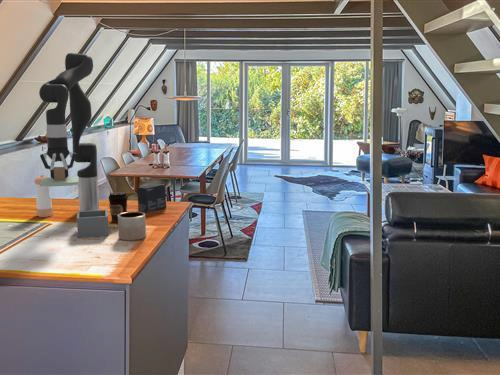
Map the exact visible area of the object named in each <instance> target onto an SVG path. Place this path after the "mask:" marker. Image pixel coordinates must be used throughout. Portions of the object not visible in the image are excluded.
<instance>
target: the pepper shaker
mask: <svg viewBox="0 0 500 375" xmlns="http://www.w3.org/2000/svg"><path fill="white" fill-rule="evenodd" d="M42 178H50V177H49V176H45V175H43V174H41V175H40V176H37V177H35V178H34V182H33V183H34V184H35V185H36V199H35V200H36V208H35V209H36V212H35V213H36V217H37V216H39V217H38V218H48V216H49V217H51V216H54V208H53V205H52V203H53V202H52V201H53V200H52V197H51V193H50V192H51V191H50V187H46V186H40V183H41V180H42Z"/></svg>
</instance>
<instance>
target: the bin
mask: <svg viewBox="0 0 500 375" xmlns="http://www.w3.org/2000/svg"><path fill="white" fill-rule="evenodd" d="M108 213H109V212H108V209H99V210H93V211H79V210H78V211H77V213H76V214H77V215H76V230H77V238H78V239H79V238H91V237H92V238H93V237H94V238H95V237H105V236H109V231H110V230H109V214H108Z"/></svg>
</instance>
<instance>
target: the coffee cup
mask: <svg viewBox="0 0 500 375" xmlns="http://www.w3.org/2000/svg"><path fill="white" fill-rule="evenodd" d="M128 198H129V196H128V195H127V192H125V191H116V192H110V194H109V195H108V201H109V213H110V216H111V222H112V223H118V215H119V214H121V213H124V212H128V210H127V209H128Z"/></svg>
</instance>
